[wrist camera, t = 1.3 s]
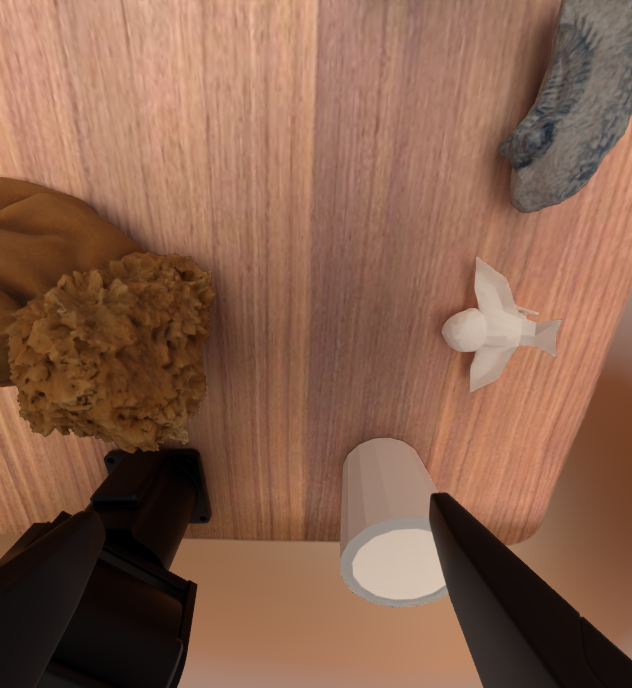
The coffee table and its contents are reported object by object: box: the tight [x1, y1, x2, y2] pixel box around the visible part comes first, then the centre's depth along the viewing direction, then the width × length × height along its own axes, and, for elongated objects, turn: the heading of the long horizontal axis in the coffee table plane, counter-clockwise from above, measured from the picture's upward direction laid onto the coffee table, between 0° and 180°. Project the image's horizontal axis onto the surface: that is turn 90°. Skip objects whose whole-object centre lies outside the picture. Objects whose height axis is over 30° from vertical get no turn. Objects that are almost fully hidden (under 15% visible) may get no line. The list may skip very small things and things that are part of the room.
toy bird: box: [442, 256, 562, 393], centre depth 17 cm, size 8×5×5 cm, turn 7°
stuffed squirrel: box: [0, 177, 216, 453], centre depth 13 cm, size 10×14×13 cm
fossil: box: [499, 0, 632, 213], centre depth 13 cm, size 8×4×5 cm, turn 175°
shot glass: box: [340, 438, 448, 607], centre depth 20 cm, size 7×7×7 cm
